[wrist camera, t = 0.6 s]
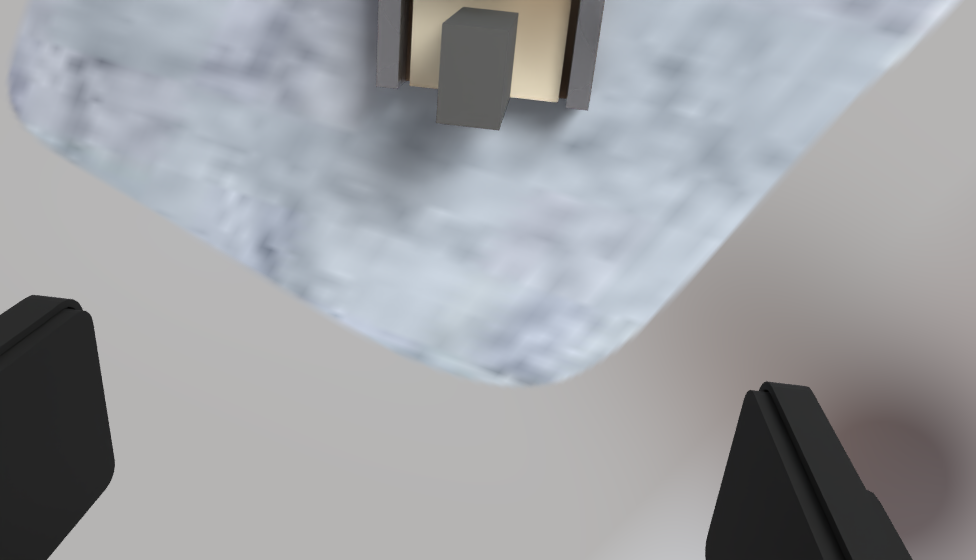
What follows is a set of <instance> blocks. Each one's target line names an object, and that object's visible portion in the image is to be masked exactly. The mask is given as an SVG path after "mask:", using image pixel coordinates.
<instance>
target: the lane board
mask: <svg viewBox="0 0 976 560" xmlns="http://www.w3.org/2000/svg"><path fill="white" fill-rule="evenodd" d="M604 2H605V0H571V8H570V15H569V23H568V31H567V38H566V46H565V53H564V61H563V68H562V76H561V84H560V91H559V98H564V99H566V108H571V109H580V110H588V107H589V101H590V95H591V88H592V82H593V75H594V68H595V62H596V55H597V48H598V42H599V35H600V28H601V22H602V15H603V8H604ZM412 21H413V0H378V35H377V73H376V86H377V87H385V88H394V89H398V88H399V87H400V86H401V85H402V84H403V83H404V82H405V81H410V65H411V43H412Z"/></svg>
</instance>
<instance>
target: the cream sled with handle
mask: <svg viewBox="0 0 976 560" xmlns="http://www.w3.org/2000/svg"><path fill="white" fill-rule="evenodd" d="M570 8H571V0H413V21H412V43H411V65H410V86H416V87H424V88H433V89H438V100H437V116H436V123H440V124H448V125H457V126H466V127H474V128H483V129H492V130H499V129H500V126H501V123H502V120H503V117H504V114H505V111H506V108H507V105H508V102H509V99H510V97H513V98H522V99H531V100H539V101H548V102H557V103H558V99H559V91H560V84H561V76H562V68H563V61H564V53H565V46H566V38H567V31H568V23H569V15H570Z"/></svg>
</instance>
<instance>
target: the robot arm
mask: <svg viewBox="0 0 976 560" xmlns="http://www.w3.org/2000/svg"><path fill="white" fill-rule="evenodd" d="M114 467H115V460H114V453H113V447H112V440H111V434H110V428H109V422H108V415H107V408H106V402H105V396H104V389H103V383H102V376H101V371H100V364H99V357H98V352H97V344H96V338H95V331H94V325H93V321H92V317H91V315H90V314H89V313H88V312H86V311H83V310H82V307H81V306H80V304H79V303H78V302H77V301H75V300H73V299H64V298H56V297H47V296H39V295H31V296H29V297H27V298H25V299H23V300H22V301H20V302H19V303H17V304H16V305H14V306H13V307H11V308H10V309H8V310H7V311H5V312H4V313H2V314H1V315H0V560H47V559H48V558H49V556H50V555H51V554H52V553H53V552H54V550H55V549H56V548H57V547H58V546H59V544H60V543H61V542H62V541H63V539H64V538H65V537H66V536H67V535H68V533H69V532H70V531H71V530H72V529H73V528H74V526H75V525H76V524H77V523H78V522H79V520H80V519H81V518H82V517H83V516H84V514H85V513H86V512H87V511H88V510H89V508H90V507H91V506H92V505H93V504H94V502H95V501H96V500H97V499H98V498H99V496H100V495H101V494H102V493H103V492H104V490H105V489H106V488H107V486H108V485H109V483H110V481H111V479H112V476H113V473H114ZM705 551H706V552H705V557H706V560H912V558H911V556H910V554H909V553H908V551H907V549H906V548H905V546H904V544H903V542H902V540H901V538H900V537H899V535H898V533H897V532H896V530H895V528H894V526H893V524H892V522H891V521H890V519H889V517H888V516H887V513H886V512H885V510H884V508H883V506H882V505H881V503H880V501H879V500H878V499H877V497H876V496H875V495H874V494H873V493H872V492H870V491H868V490H866V488H865V486H864V485H863V483H862V481H861V479H860V477H859V476H858V474H857V472H856V470H855V468H854V467H853V465H852V463H851V461H850V459H849V457H848V456H847V454H846V452H845V450H844V448H843V446H842V445H841V443H840V441H839V439H838V437H837V436H836V434H835V432H834V430H833V428H832V426H831V425H830V423H829V421H828V419H827V417H826V416H825V414H824V412H823V410H822V408H821V406H820V405H819V403H818V401H817V399H816V397H815V395H814V394H813V392H812V390H811V389H810V388H809V387H806V386H800V385H791V384H782V383H774V382H764V383H763V384H762V386H761V387H760V389H759V391H753V390H749V391H748V392H747V394H746V395H745V398H744V401H743V405H742V409H741V412H740V416H739V420H738V424H737V428H736V431H735V435H734V438H733V442H732V446H731V450H730V453H729V457H728V461H727V465H726V468H725V472H724V476H723V480H722V483H721V487H720V491H719V494H718V498H717V502H716V506H715V509H714V514H713V517H712V521H711V524H710V528H709V532H708V536H707V540H706V550H705Z"/></svg>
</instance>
